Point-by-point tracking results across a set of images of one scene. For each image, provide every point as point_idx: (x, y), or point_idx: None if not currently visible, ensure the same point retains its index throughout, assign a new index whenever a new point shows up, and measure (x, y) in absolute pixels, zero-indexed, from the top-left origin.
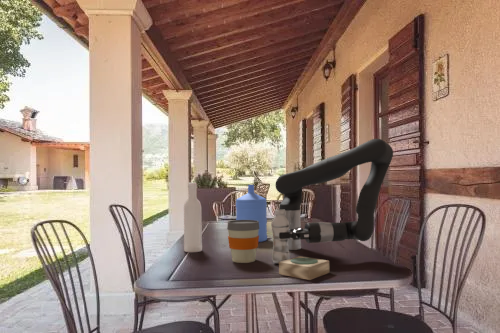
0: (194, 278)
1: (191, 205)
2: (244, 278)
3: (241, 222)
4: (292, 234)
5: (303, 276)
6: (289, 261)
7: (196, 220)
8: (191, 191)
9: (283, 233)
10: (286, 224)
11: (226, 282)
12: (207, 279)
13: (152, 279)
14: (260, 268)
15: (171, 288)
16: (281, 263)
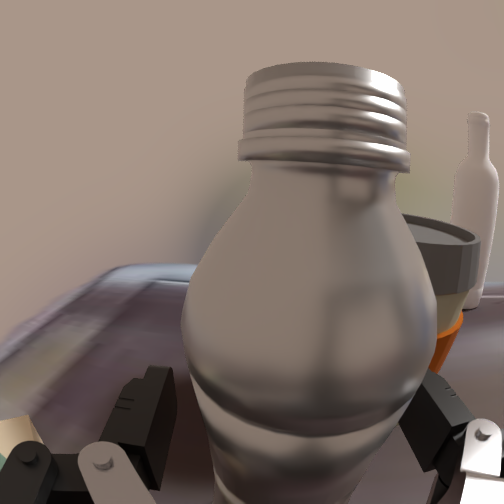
0: (145, 300)
1: (459, 171)
2: (75, 361)
3: (428, 233)
4: (56, 456)
5: None
6: (4, 451)
7: (463, 217)
8: (469, 135)
9: (142, 395)
10: (191, 346)
11: (71, 329)
12: (121, 312)
13: (174, 269)
14: (183, 434)
15: (100, 279)
16: (16, 421)
